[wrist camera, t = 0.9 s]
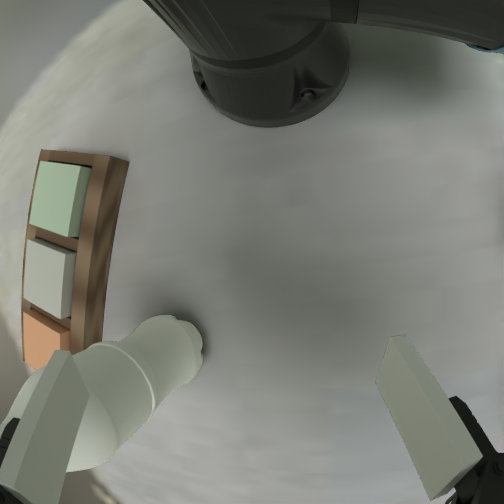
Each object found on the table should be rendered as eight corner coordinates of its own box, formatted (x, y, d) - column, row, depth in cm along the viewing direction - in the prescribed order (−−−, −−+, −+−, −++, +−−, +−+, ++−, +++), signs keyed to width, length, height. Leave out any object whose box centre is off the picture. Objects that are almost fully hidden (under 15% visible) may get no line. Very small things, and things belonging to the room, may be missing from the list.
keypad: (60, 153, 35) (41, 149, 31) (129, 162, 32) (109, 156, 29) (39, 353, 38) (23, 360, 35) (99, 390, 35) (83, 401, 32)
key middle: (44, 238, 33) (27, 238, 31) (82, 252, 32) (65, 254, 29) (39, 294, 34) (23, 297, 31) (76, 314, 33) (60, 319, 30)
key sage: (56, 164, 32) (40, 160, 30) (97, 170, 31) (80, 166, 28) (45, 223, 33) (29, 223, 30) (85, 236, 32) (67, 237, 29)
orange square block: (38, 307, 34) (23, 311, 32) (76, 328, 33) (59, 334, 30) (39, 356, 35) (25, 361, 32) (75, 379, 34) (60, 387, 31)
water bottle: (214, 378, 31) (47, 553, 7) (153, 369, 33) (-27, 492, 9) (209, 311, 31) (-19, 446, 7) (146, 307, 33) (-74, 391, 8)
